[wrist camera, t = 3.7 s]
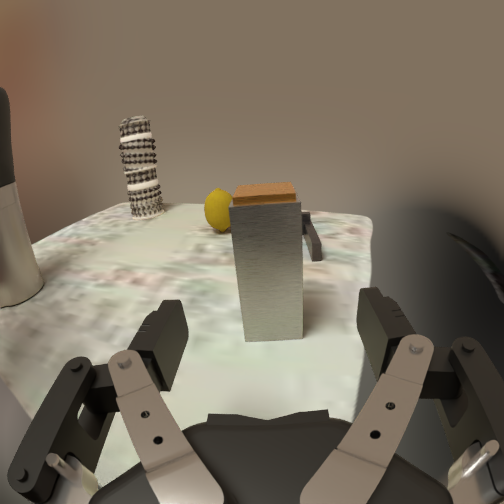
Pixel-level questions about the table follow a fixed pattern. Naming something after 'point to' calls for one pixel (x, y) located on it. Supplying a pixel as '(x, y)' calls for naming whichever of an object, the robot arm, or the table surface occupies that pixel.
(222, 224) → the lemon
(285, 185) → the block
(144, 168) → the decorative candle
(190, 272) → the table surface
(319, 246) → the channel
